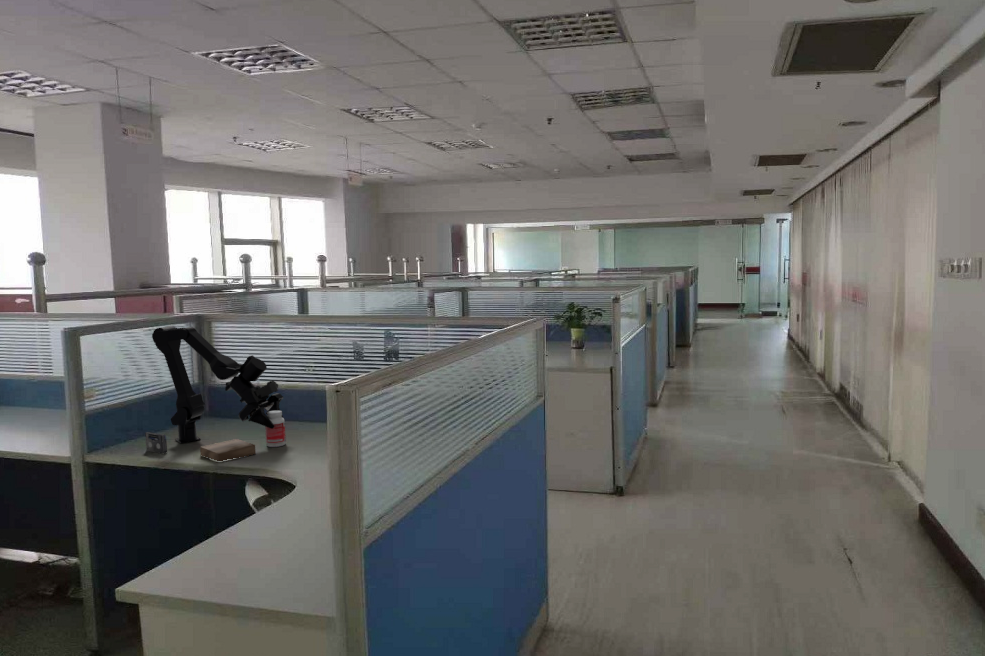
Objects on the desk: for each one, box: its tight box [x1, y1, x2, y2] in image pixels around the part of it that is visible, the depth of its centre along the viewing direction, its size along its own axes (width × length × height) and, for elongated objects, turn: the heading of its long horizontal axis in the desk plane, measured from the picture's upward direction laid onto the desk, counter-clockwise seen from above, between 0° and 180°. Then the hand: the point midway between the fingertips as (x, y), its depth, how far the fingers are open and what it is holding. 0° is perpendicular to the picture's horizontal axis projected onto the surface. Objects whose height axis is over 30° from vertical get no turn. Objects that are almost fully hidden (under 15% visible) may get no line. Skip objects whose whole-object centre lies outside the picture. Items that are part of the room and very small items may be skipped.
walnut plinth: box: [199, 438, 257, 461], centre depth 227 cm, size 12×12×3 cm
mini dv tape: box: [144, 431, 168, 454], centre depth 233 cm, size 8×2×6 cm, turn 61°
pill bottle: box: [264, 410, 287, 448], centre depth 237 cm, size 6×6×11 cm
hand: (278, 425), depth 237 cm, fingers closed on pill bottle, 6 cm apart
